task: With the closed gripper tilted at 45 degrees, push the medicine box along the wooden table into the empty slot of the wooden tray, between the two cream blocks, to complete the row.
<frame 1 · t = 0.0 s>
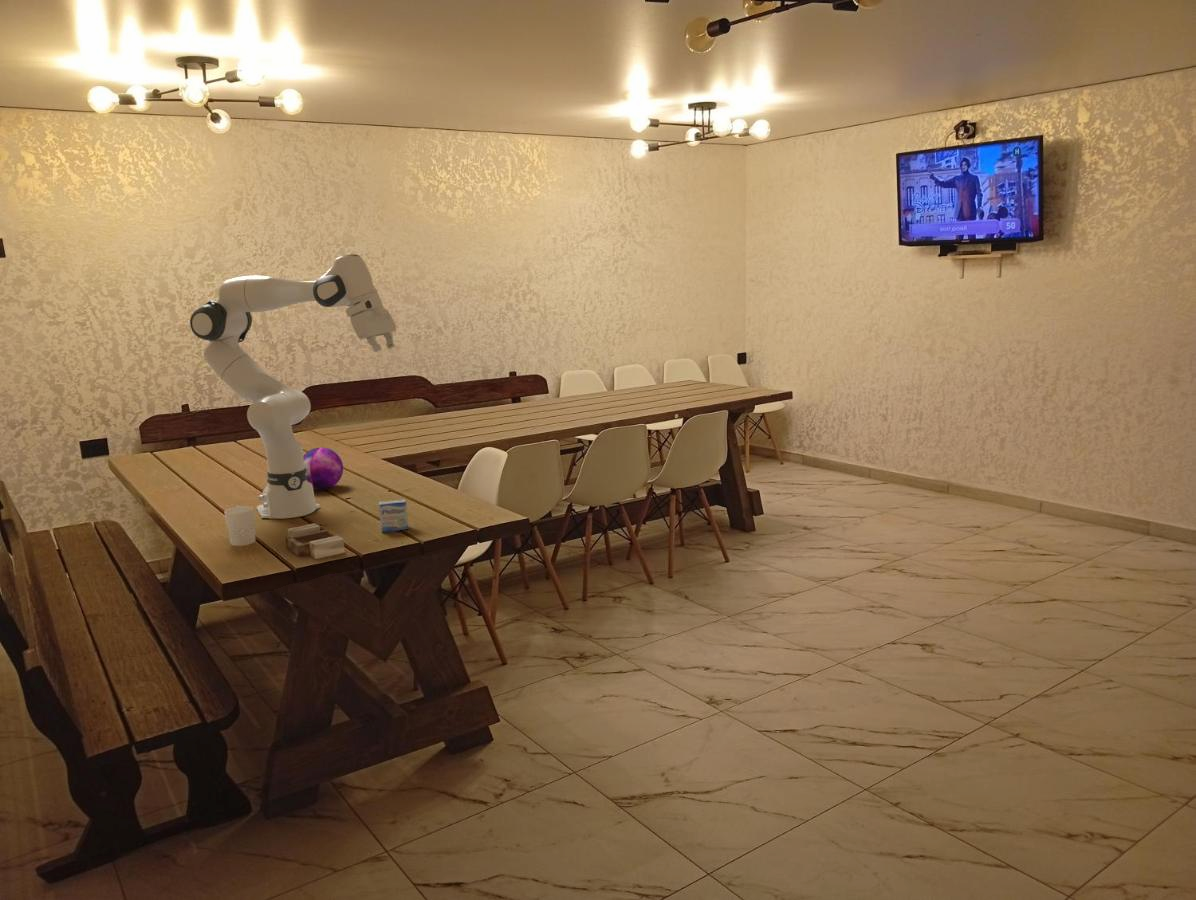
hand: (384, 349, 272), 52 cm above the table, tool tilted 20°, fingers open, 8 cm apart
white cup: (243, 543, 261), on the table
wooden tray: (316, 547, 253), on the table
decorative orb: (323, 489, 321), on the table
medicine box: (394, 530, 268), on the table
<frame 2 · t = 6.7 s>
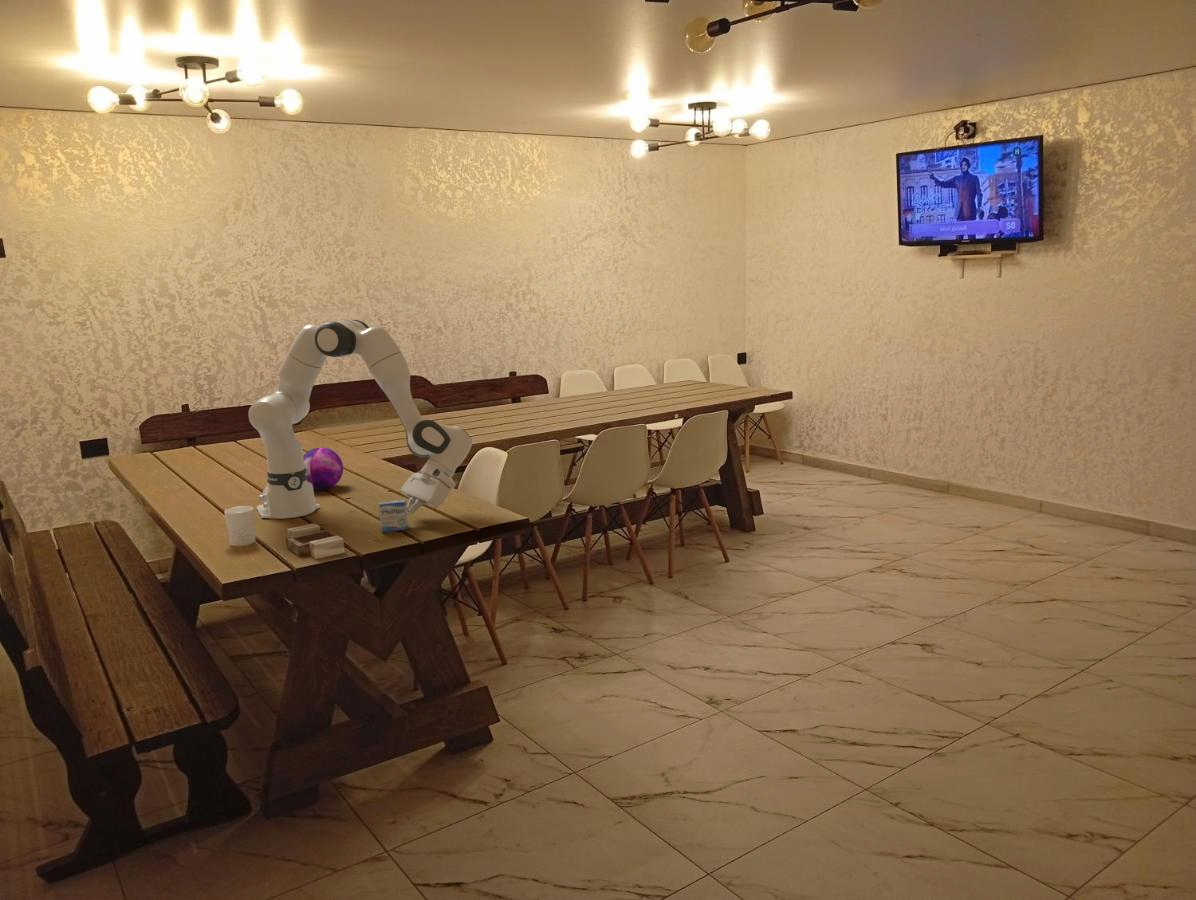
hand: (408, 512, 270), 4 cm above the table, tool tilted 45°, fingers closed
medicine box: (394, 530, 268), on the table, touching gripper
everything else where it was.
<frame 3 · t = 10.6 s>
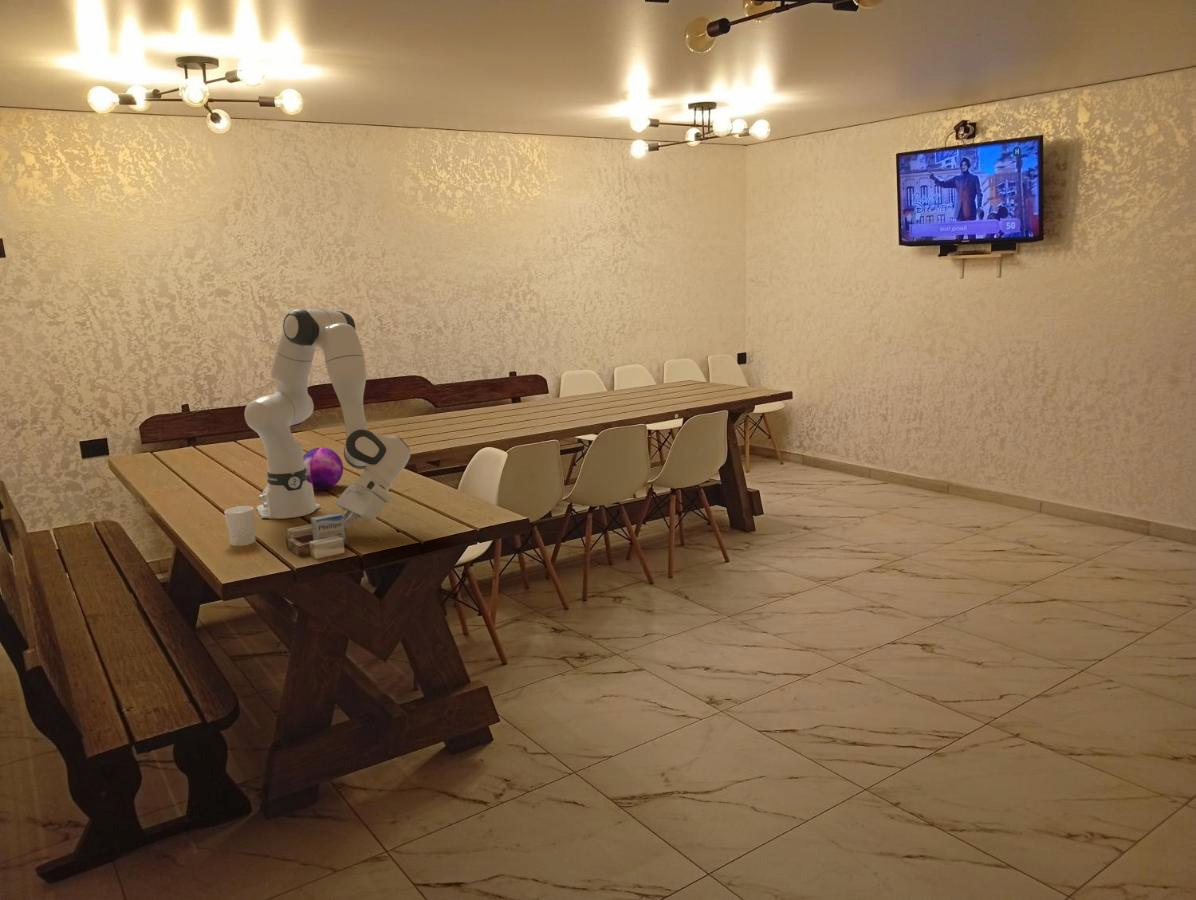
hand: (342, 526, 257), 4 cm above the table, tool tilted 45°, fingers closed, pressing on medicine box
medicine box: (330, 546, 255), on the table, touching gripper
everything else where it was.
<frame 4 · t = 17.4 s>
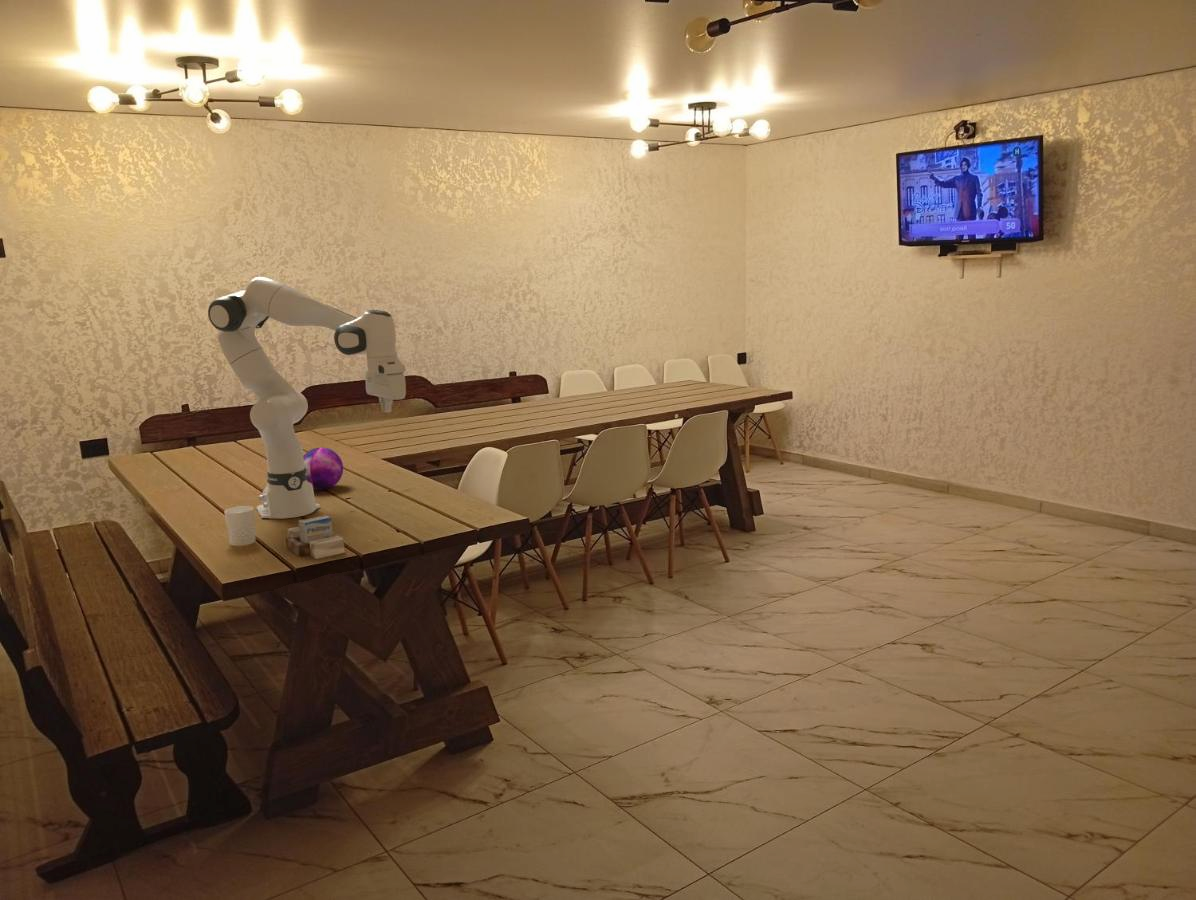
hand: (386, 412, 269), 34 cm above the table, tool pointing down, fingers closed
medicine box: (318, 549, 252), on the table
everything else where it was.
at the end: medicine box 1.2 cm off-centre on the wooden tray, point 0.0 cm above the wooden tray's base; medicine box tilted 0°; the gripper is holding nothing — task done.
